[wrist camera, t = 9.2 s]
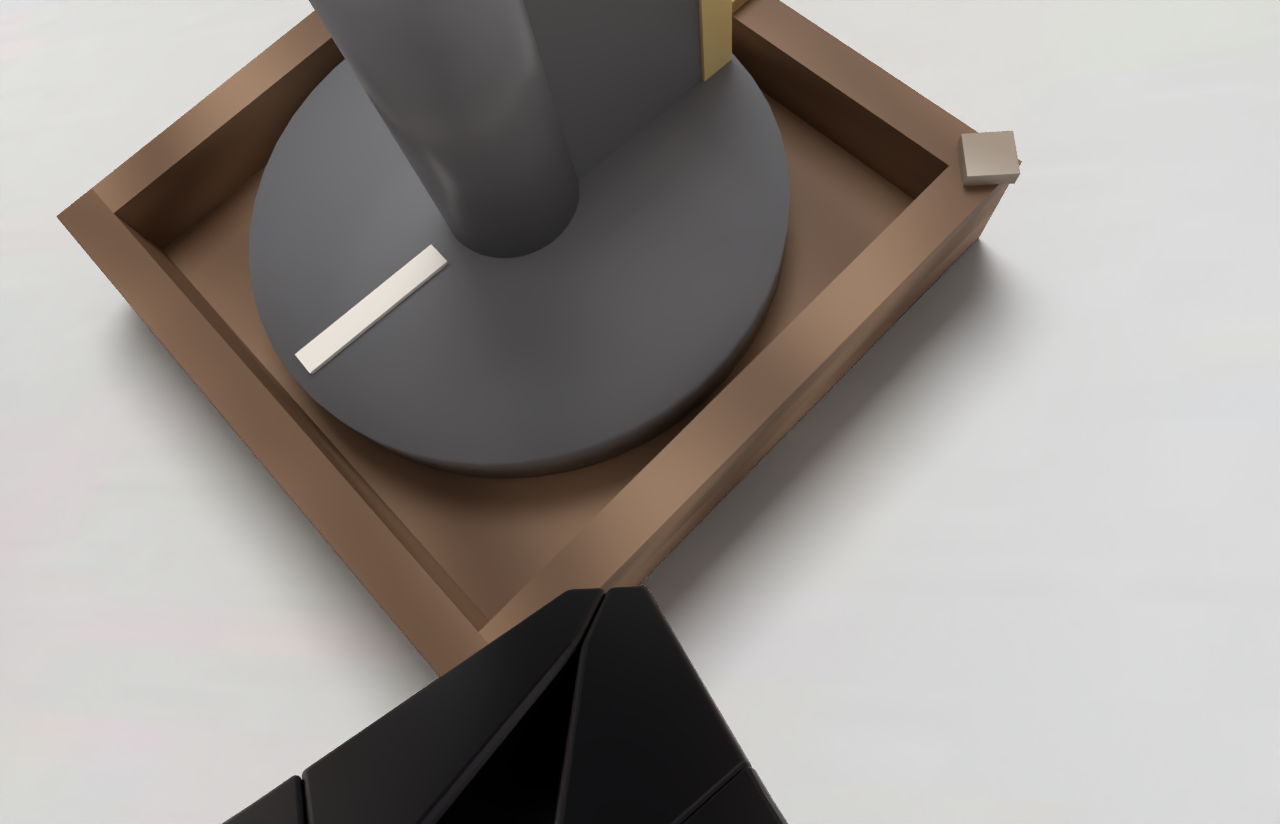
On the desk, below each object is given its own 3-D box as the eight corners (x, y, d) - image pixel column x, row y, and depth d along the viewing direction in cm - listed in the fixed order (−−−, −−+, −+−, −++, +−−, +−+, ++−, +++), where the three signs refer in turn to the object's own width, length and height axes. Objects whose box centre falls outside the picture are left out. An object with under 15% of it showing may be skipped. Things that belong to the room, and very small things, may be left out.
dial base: (521, 718, 20) (474, 726, 16) (144, 276, 25) (44, 208, 22) (992, 236, 23) (1042, 150, 19) (561, -69, 28) (535, -182, 24)
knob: (482, 599, 19) (263, 526, 10) (188, 230, 24) (-148, -49, 15) (900, 224, 21) (1026, -115, 12) (557, -52, 26) (462, -452, 17)
